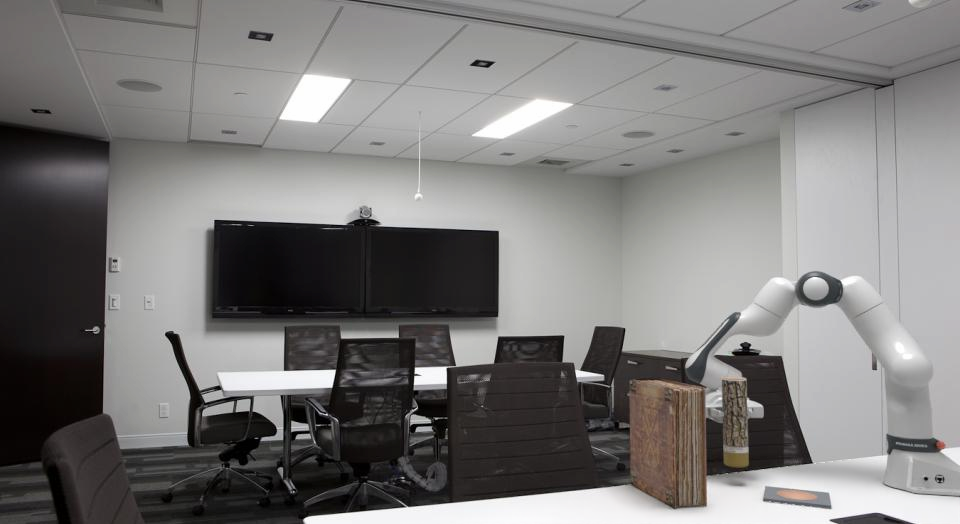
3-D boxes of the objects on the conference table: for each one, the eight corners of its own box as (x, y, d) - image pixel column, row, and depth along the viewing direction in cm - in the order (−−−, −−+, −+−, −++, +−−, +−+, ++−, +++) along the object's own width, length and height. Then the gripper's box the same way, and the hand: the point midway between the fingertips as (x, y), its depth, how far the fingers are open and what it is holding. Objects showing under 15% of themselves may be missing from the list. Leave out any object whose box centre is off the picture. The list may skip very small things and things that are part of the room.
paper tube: (750, 468, 197) (748, 379, 199) (725, 467, 199) (723, 378, 200) (746, 463, 204) (744, 377, 205) (722, 462, 205) (720, 376, 207)
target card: (829, 495, 189) (829, 492, 189) (831, 508, 176) (831, 505, 177) (765, 488, 196) (765, 485, 196) (763, 501, 183) (763, 497, 183)
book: (707, 507, 177) (705, 387, 179) (674, 509, 175) (673, 388, 177) (659, 483, 202) (658, 378, 204) (629, 484, 200) (629, 378, 202)
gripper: (686, 397, 215) (699, 403, 202) (752, 397, 215) (770, 403, 201) (686, 418, 215) (700, 425, 201) (753, 418, 215) (771, 425, 201)
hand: (736, 414), depth 201 cm, fingers closed on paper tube, 7 cm apart
